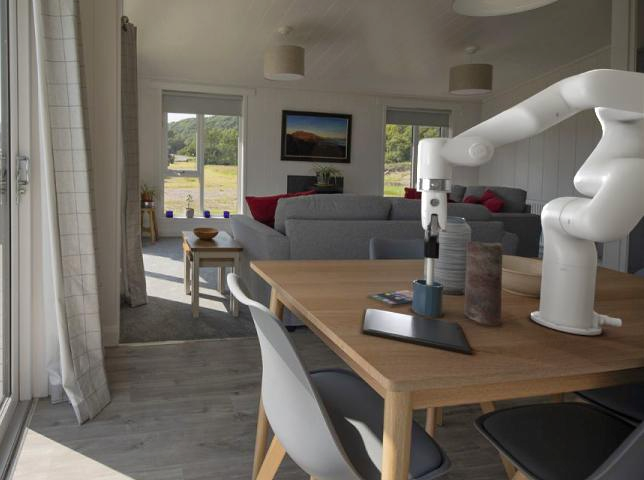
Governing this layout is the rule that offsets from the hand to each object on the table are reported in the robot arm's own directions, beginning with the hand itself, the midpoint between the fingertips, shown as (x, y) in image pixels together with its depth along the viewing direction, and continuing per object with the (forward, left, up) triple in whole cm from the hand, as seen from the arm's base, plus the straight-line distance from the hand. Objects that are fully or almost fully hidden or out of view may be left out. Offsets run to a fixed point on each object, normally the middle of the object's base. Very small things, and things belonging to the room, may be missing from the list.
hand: (431, 256), depth 101 cm
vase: (-7, -26, -15) cm, 31 cm away
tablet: (+4, +15, -15) cm, 21 cm away
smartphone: (+6, -8, -15) cm, 18 cm away
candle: (-12, -1, -15) cm, 19 cm away
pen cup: (0, 0, -15) cm, 15 cm away
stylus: (0, 0, -9) cm, 9 cm away
